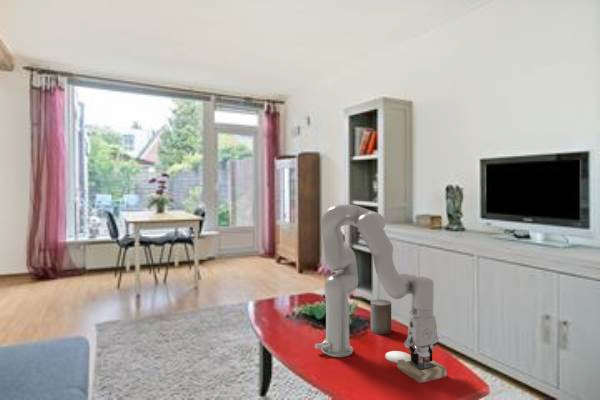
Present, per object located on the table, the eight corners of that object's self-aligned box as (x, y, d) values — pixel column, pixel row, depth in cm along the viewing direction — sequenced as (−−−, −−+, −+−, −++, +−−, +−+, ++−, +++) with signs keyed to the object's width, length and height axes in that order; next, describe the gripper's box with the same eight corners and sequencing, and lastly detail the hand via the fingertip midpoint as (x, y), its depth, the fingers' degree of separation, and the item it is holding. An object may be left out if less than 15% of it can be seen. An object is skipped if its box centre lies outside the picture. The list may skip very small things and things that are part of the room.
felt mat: (396, 365, 143) (396, 363, 143) (380, 354, 152) (380, 353, 152) (417, 360, 147) (417, 359, 147) (400, 350, 156) (400, 349, 156)
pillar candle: (395, 330, 179) (395, 299, 179) (384, 336, 172) (384, 303, 172) (377, 326, 186) (377, 295, 186) (366, 331, 179) (366, 299, 179)
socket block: (419, 383, 130) (419, 374, 130) (397, 368, 141) (397, 360, 141) (446, 376, 135) (446, 368, 135) (422, 362, 146) (422, 354, 146)
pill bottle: (427, 377, 134) (427, 349, 134) (411, 373, 137) (411, 346, 137) (431, 371, 139) (431, 344, 139) (415, 367, 142) (415, 340, 142)
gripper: (410, 318, 131) (409, 370, 131) (448, 312, 138) (447, 361, 138) (396, 312, 137) (395, 361, 138) (433, 306, 144) (432, 353, 145)
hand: (421, 361), depth 138 cm, fingers closed on pill bottle, 5 cm apart
